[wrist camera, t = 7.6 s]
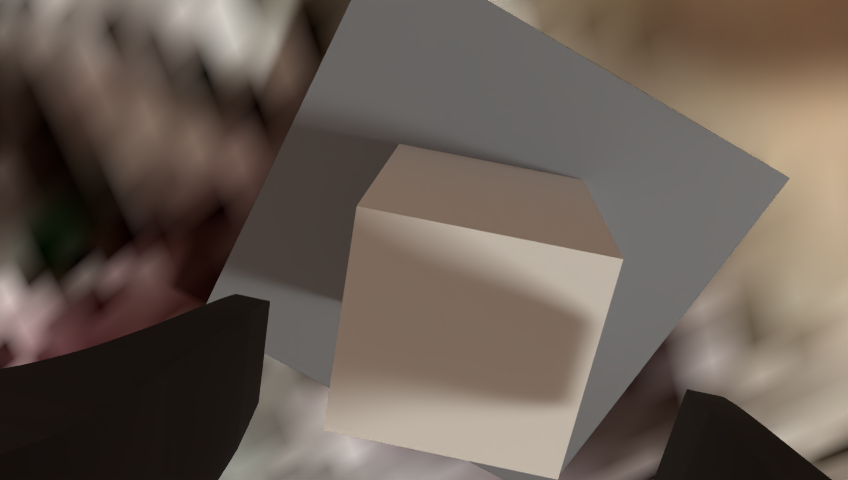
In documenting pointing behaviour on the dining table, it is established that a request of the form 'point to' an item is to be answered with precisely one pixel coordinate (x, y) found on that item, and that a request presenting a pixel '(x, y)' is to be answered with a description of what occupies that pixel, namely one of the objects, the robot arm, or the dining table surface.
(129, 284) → the dining table surface
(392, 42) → the stub plate
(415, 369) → the block
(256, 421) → the dining table surface
